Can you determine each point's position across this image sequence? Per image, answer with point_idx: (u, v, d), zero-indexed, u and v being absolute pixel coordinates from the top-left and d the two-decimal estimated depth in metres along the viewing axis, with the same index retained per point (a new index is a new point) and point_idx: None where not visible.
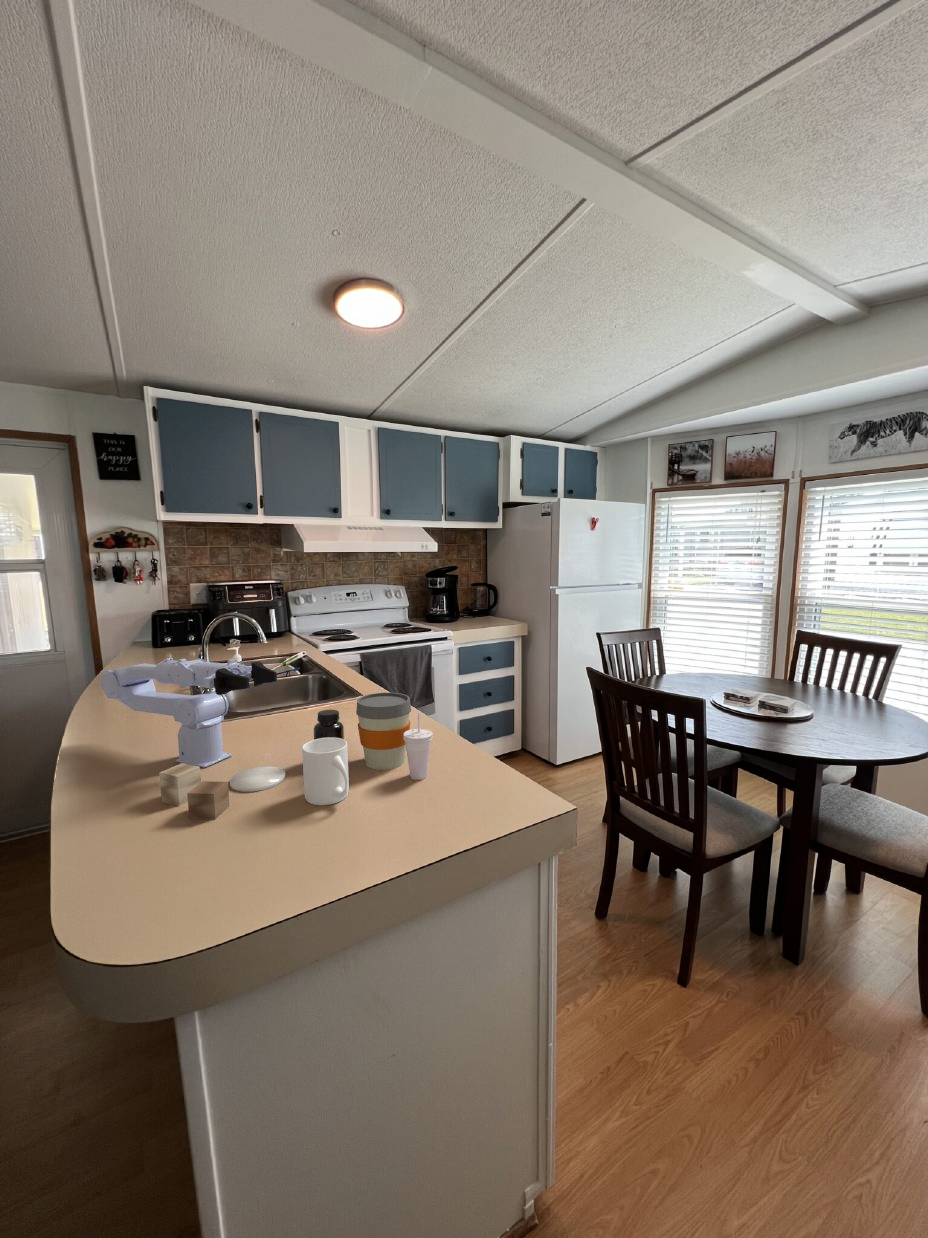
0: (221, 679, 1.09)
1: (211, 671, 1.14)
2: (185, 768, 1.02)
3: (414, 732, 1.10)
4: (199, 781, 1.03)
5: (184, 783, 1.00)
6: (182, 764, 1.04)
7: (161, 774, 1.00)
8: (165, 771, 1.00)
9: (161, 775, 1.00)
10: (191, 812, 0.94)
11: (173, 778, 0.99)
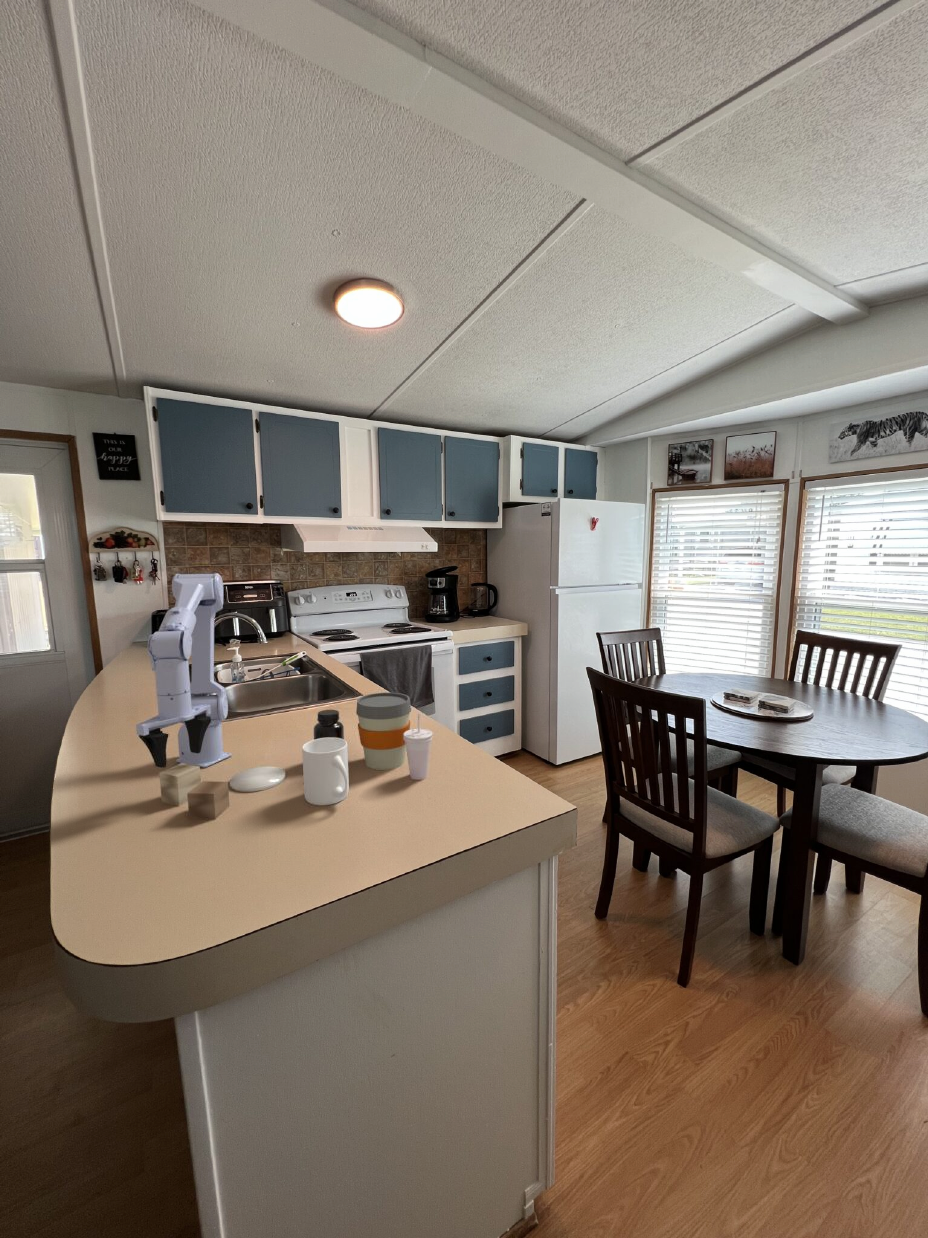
0: None
1: (167, 700, 0.97)
2: (185, 768, 1.02)
3: (414, 732, 1.10)
4: (199, 781, 1.03)
5: (184, 783, 1.00)
6: (182, 764, 1.04)
7: (160, 774, 1.00)
8: (165, 771, 1.00)
9: (161, 775, 1.00)
10: (191, 812, 0.94)
11: (173, 778, 0.99)
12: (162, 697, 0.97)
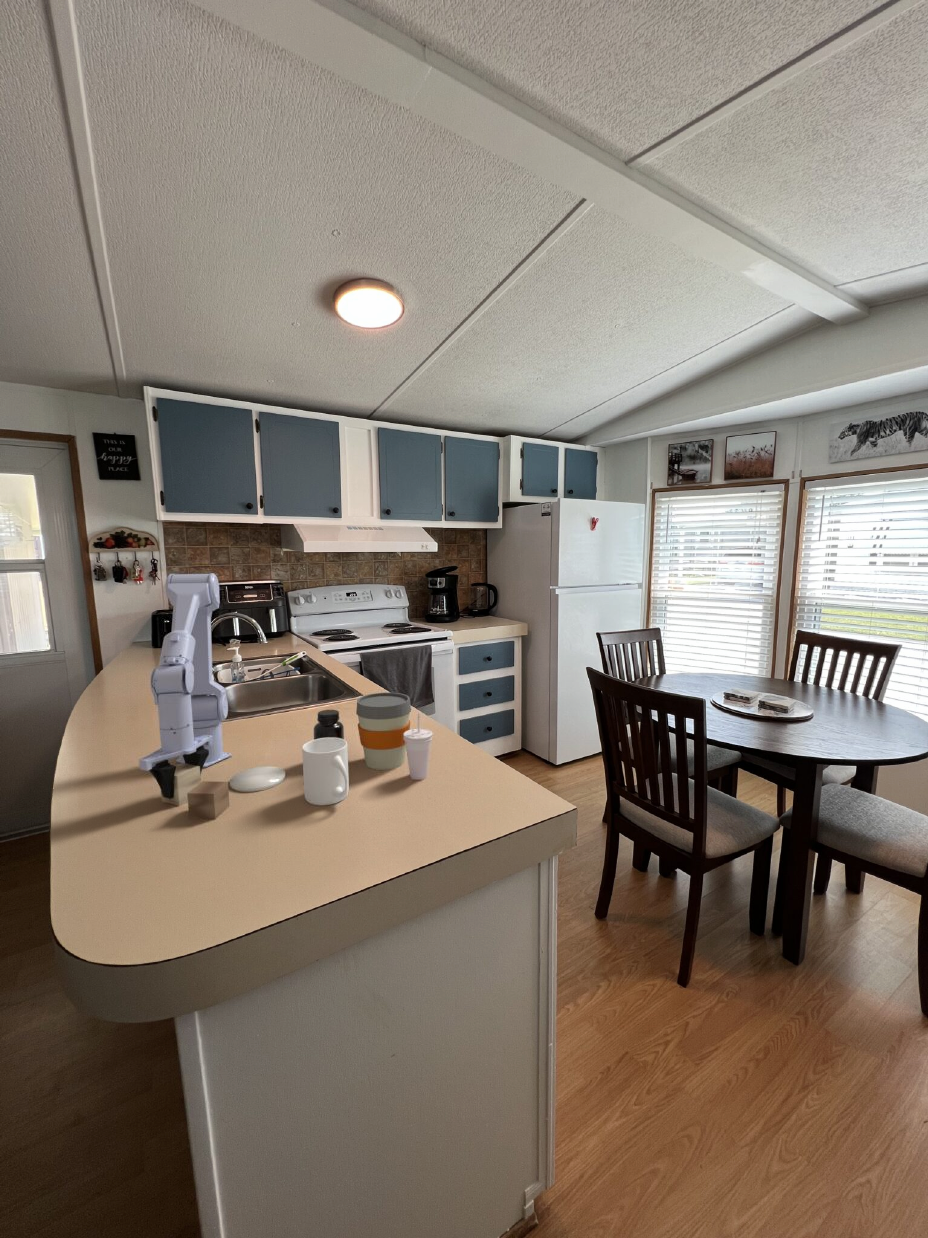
0: None
1: (170, 735, 0.98)
2: (185, 767, 1.02)
3: (414, 732, 1.10)
4: (199, 781, 1.03)
5: (184, 783, 1.00)
6: (182, 764, 1.04)
7: None
8: None
9: None
10: (191, 812, 0.94)
11: None
12: (165, 731, 0.98)
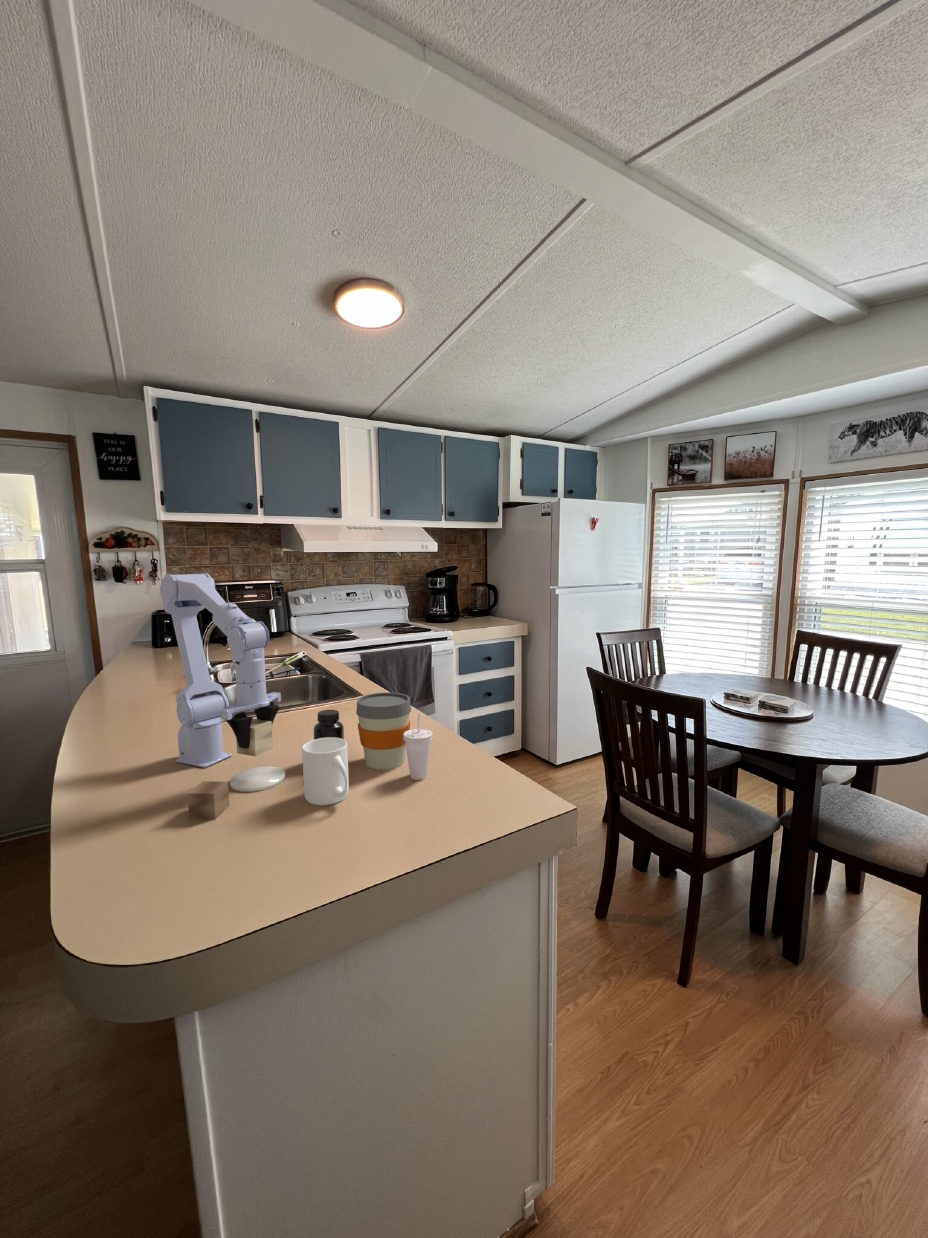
0: None
1: (247, 688, 1.04)
2: (258, 722, 1.09)
3: (414, 732, 1.10)
4: (271, 735, 1.10)
5: (259, 735, 1.06)
6: (254, 719, 1.11)
7: None
8: None
9: None
10: (191, 812, 0.94)
11: (250, 730, 1.05)
12: (242, 685, 1.04)
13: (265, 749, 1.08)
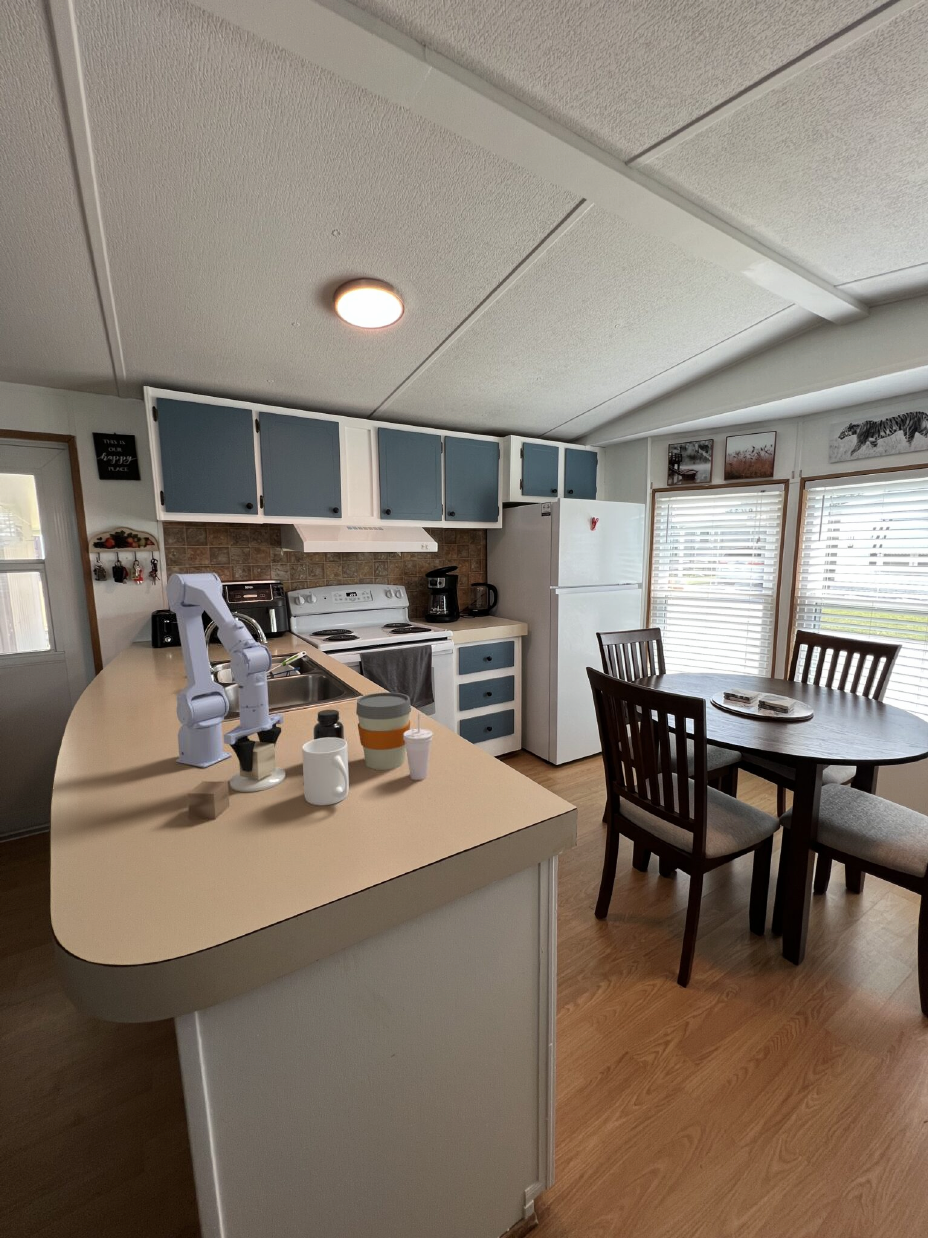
0: None
1: (250, 712, 1.05)
2: (261, 745, 1.10)
3: (414, 732, 1.10)
4: (273, 757, 1.10)
5: (262, 758, 1.07)
6: (256, 742, 1.11)
7: None
8: None
9: None
10: (191, 812, 0.94)
11: (253, 753, 1.06)
12: (245, 709, 1.05)
13: (268, 772, 1.09)
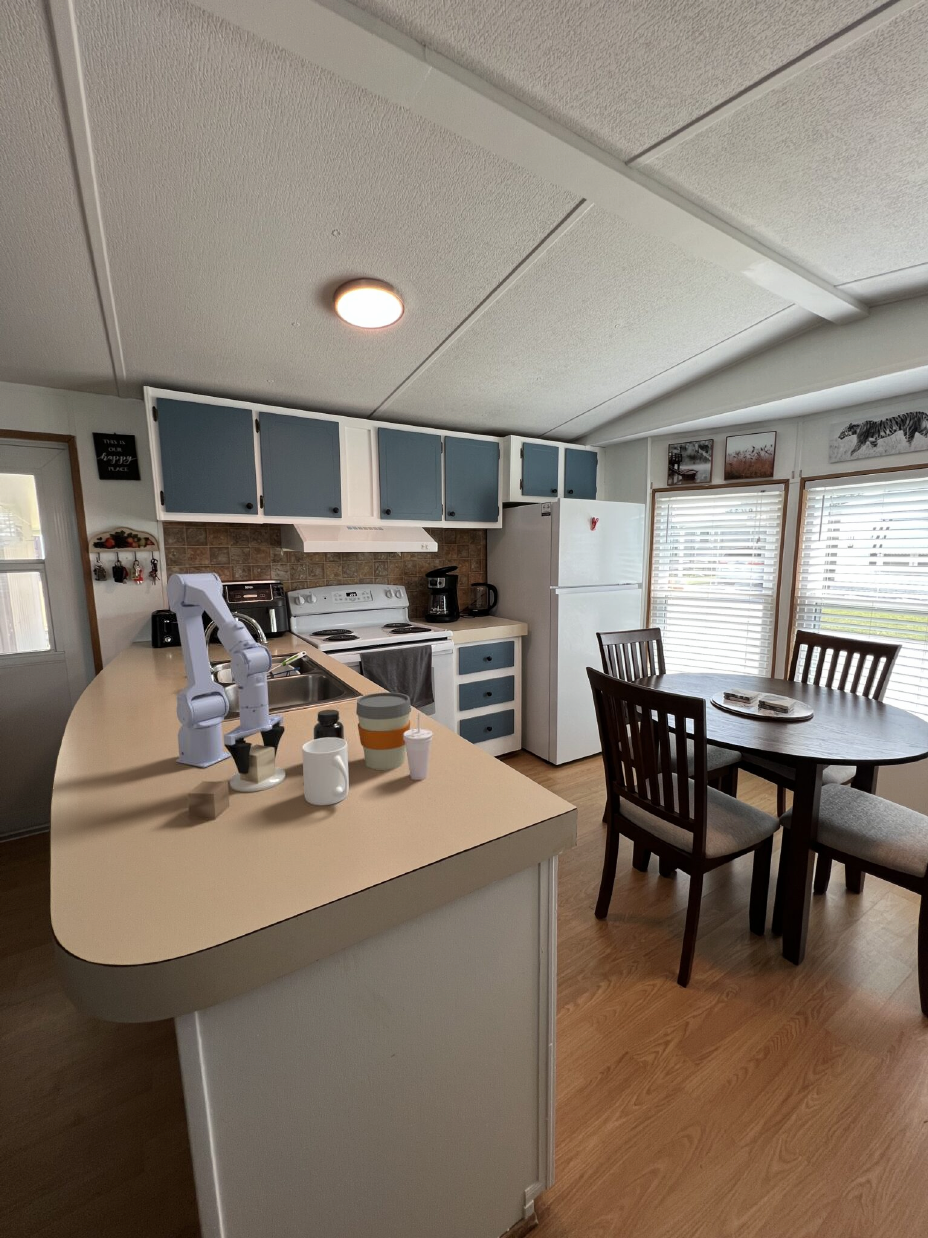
0: None
1: (250, 712, 1.05)
2: (261, 748, 1.10)
3: (414, 732, 1.10)
4: (274, 761, 1.10)
5: (262, 762, 1.07)
6: (257, 745, 1.12)
7: None
8: None
9: None
10: (191, 812, 0.94)
11: (252, 757, 1.06)
12: (245, 709, 1.05)
13: (268, 775, 1.09)
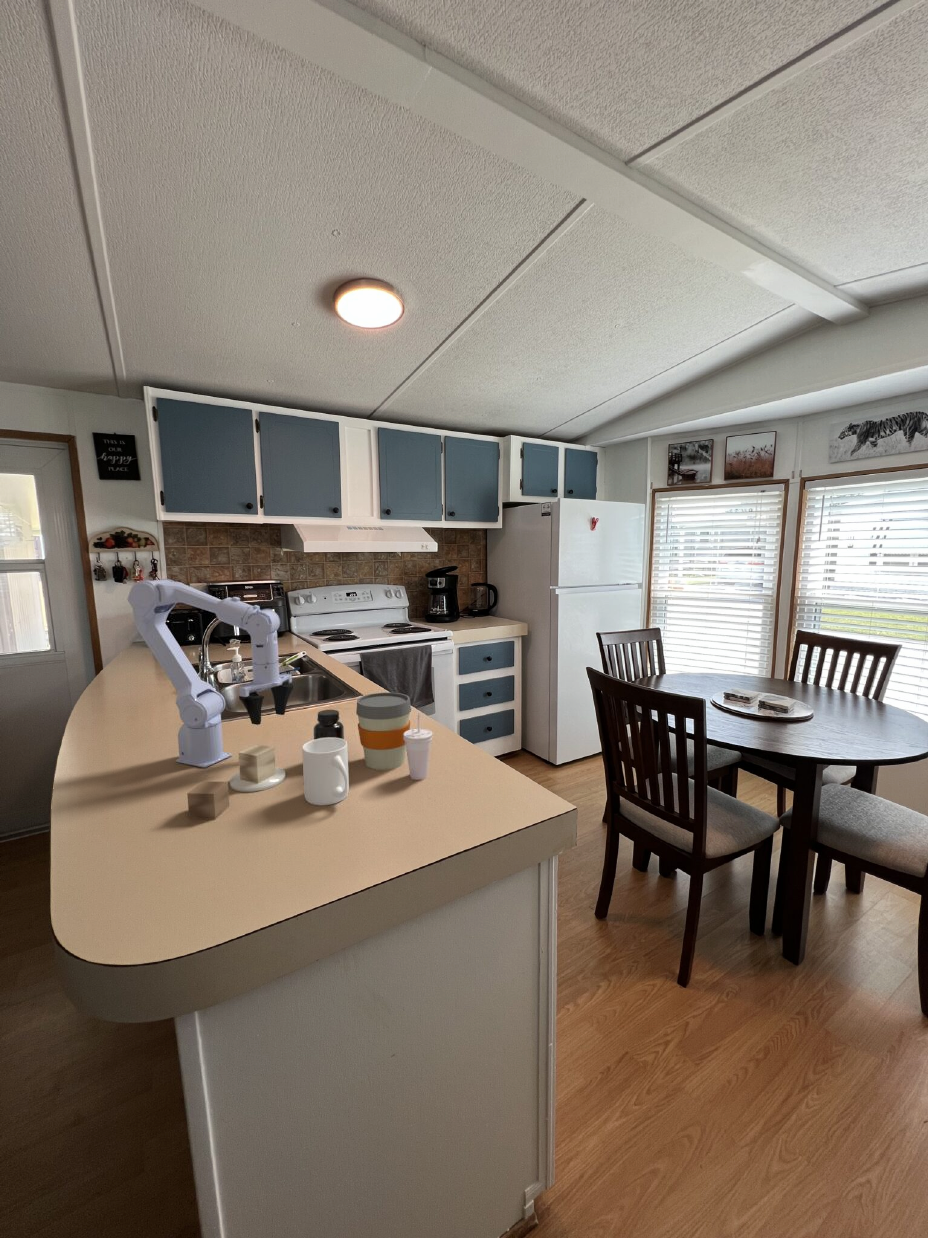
0: None
1: (262, 668, 1.16)
2: (261, 748, 1.10)
3: (414, 732, 1.10)
4: (273, 761, 1.10)
5: (262, 762, 1.07)
6: (257, 745, 1.12)
7: (240, 754, 1.08)
8: (243, 751, 1.08)
9: (240, 755, 1.08)
10: (191, 812, 0.94)
11: (252, 757, 1.06)
12: (258, 666, 1.16)
13: (268, 775, 1.09)
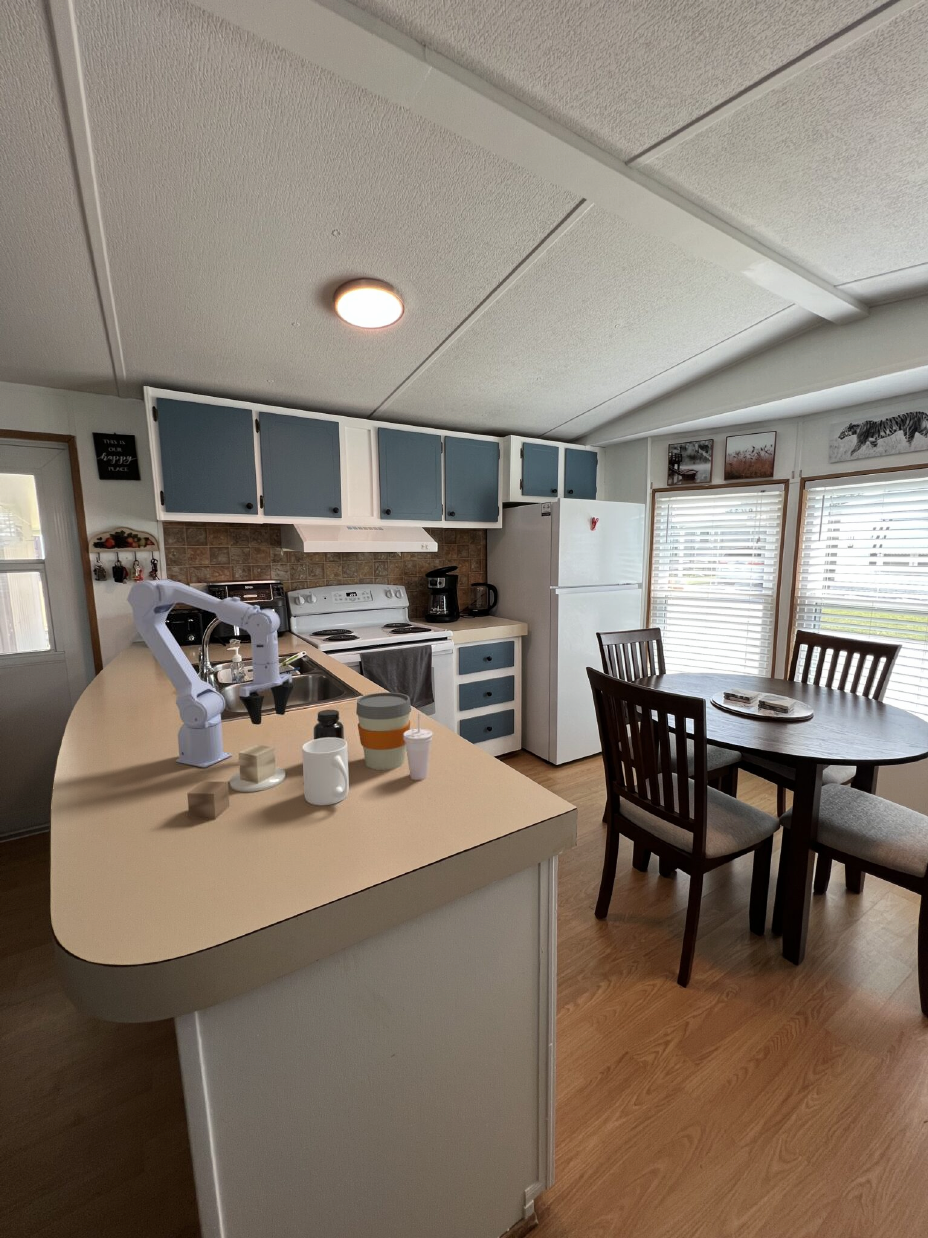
0: None
1: (262, 668, 1.16)
2: (261, 748, 1.10)
3: (414, 732, 1.10)
4: (274, 761, 1.10)
5: (262, 762, 1.07)
6: (257, 745, 1.12)
7: (240, 754, 1.08)
8: (243, 751, 1.08)
9: (240, 755, 1.08)
10: (191, 811, 0.94)
11: (252, 757, 1.06)
12: (258, 665, 1.16)
13: (268, 775, 1.09)
